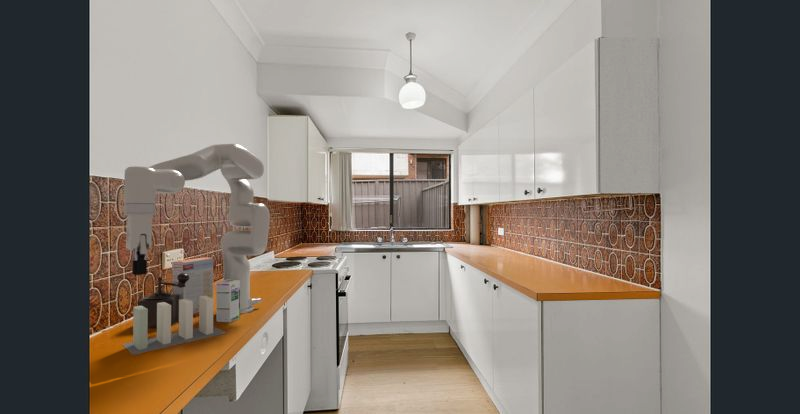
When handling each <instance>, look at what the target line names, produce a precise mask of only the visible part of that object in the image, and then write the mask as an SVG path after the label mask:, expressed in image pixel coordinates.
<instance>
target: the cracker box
mask: <svg viewBox="0 0 800 414" xmlns="http://www.w3.org/2000/svg"><path fill="white" fill-rule="evenodd" d="M171 265H172V266H171V267H172V269H171V271H172V272H171V275H172V277H171V279H172V280H171V283H175V284H178V279H177V276H178V275H179V274H181V273H186V274H188V275H189V280H188V281H187V282H186V283H185V285H186V286H185V287H182V288H180V287H177V286H171V288H172V292H171V294H179V300H181V299H188V300H190V301H193V317H195V316H199V297H200V296H208V297H211V298H213V299H214V258H213V257H197V258H189V259H182V260H177V261H176V260H175V261H172V262H171Z"/></svg>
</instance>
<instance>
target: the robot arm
mask: <svg viewBox="0 0 800 414" xmlns="http://www.w3.org/2000/svg"><path fill="white" fill-rule="evenodd" d="M218 170H220V173H221V175H222V177H223V178H224V179H225V180H226V182H227V184H228V186H229V188H230V201H229V209H228V222H229V224H230V225H231V226H233V227H235V228H250V230H241V229H240V230H238V229H237V230H236V229H235V230H229V231H227V232H225V233H224V234H223V235H222V237H221V239H220V249H221V254H222V263H223V276H222V277H223V279H222V281H224V280H226V279H237V280H240V315H241V314H245V313H247V314H248V313H251V312H253V311H254V310H255V307H254V305H255V304H261V303H262V298H260V297H258V298H252V297H250V294H251V293H250V284H251V283H250V282H251V281H250V279H251V278H250V277H251V276H250V275H251V270H250V269H251V268H250V267H251V265H250V262H249V259H248V258H247V256H261V255H263V254H264V253H265V251H266V249H267V247H268V246H267V245H268V240H269V231H270V220H271V215H270V211H269V208H268V207H267V206H266V204H264V203H257V202H256V203H255V202H254V196H255V193H254V189H253V187H252V185H251V183H250V182H249V181H248V180H257V179H260V178H262V176H263V175H264V172H265V167H264V164H263V161H262V160H261V159H260V158H259V157H258V156H256V155H255V154H253V153H252V152H251V151H249V150H248V149H247V148H245V147H243V146H242V145H240V144H237V143H220V144H212V145H209V146H207V147H204V148H202V149H200V150H197V151H195V152H193V153H190V154H187V155H183V156H180V157H177V158H172V159H169V160H165V161H161V162H159V163H155V164H153V165H151V166H135V165H134V166H129V167H126V168H125V170H124V183H123V184H124V185H123V188H124V189H123V194H124V195H123V196H124V197H123V201H124V202H123V203H124V204H123V215H124V216H127V220H126V237H125V239H126V240H125V249H127V250H129V251H132V261H131V262H132V266H131V267H132V271H131V272H132V275H133V276H140V275H141V276H142V275H146V274H147V272H148V271H147V270H148V267H147V265H148V260H147V257H148V256H147V255H148V254H147V253H148V251H149V250H151V248H152V243H153V242H152V241H153V238H152V237H153V229H152V228H153V226H152V225H153V223H152V222H153V221H152V216H156V215H157V211H156V210H157V209H156V207H157V204H156V202H157V200H156V199H157V198H156V197H157V194H158V195H159V194H160V195H166V194H167V195H168V194H169V195H171V194H175V193H179V192H180V191H182V189H183V188H184V187H185V183H186V181H193V180H198V179H201V178H204V177H207V176H208V175H210V174H212V173H214V172H216V171H218Z"/></svg>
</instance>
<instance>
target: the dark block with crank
mask: <svg viewBox="0 0 800 414" xmlns="http://www.w3.org/2000/svg"><path fill="white" fill-rule="evenodd" d="M162 277H163V276H157V291H155V292H153V293H151V294H150V295H147V296H145V297H143V298H141V299H139V300H138V301H137V306H143V307H145V308H147V309H148V329H153V328H154V329H155V328H156V329H157V303H161V302H166V303H168V304H170V305H171V327H172V326H173V325H174V324H176V323H177V322H179V294H172V293H169V292H166V291H162V285H164V286H171V287H172V286H177V287H180V288H182V287H185V286H186V285H185V283H186V282H187V281H188V280H189V275H188V274H186V273H181V274H179V275H178V276H177V279H178V284H175V283H172V282H167V281H166V282H165V281H163V280H162V279H163V278H162Z"/></svg>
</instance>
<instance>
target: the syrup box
mask: <svg viewBox="0 0 800 414" xmlns="http://www.w3.org/2000/svg"><path fill="white" fill-rule="evenodd" d="M215 287H216V288H215V291H216V292H215V294H216V295H215V297H216V300H215V302H216V303H215V304H216V306H215V307H216V311H215V313H216V317H215V318H216V322H219V323H232V322H235V321H237V320H240V319H241V314H240V280H237V279H226V280H224V281H223V280H220V281H217V282H216V284H215Z"/></svg>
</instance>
